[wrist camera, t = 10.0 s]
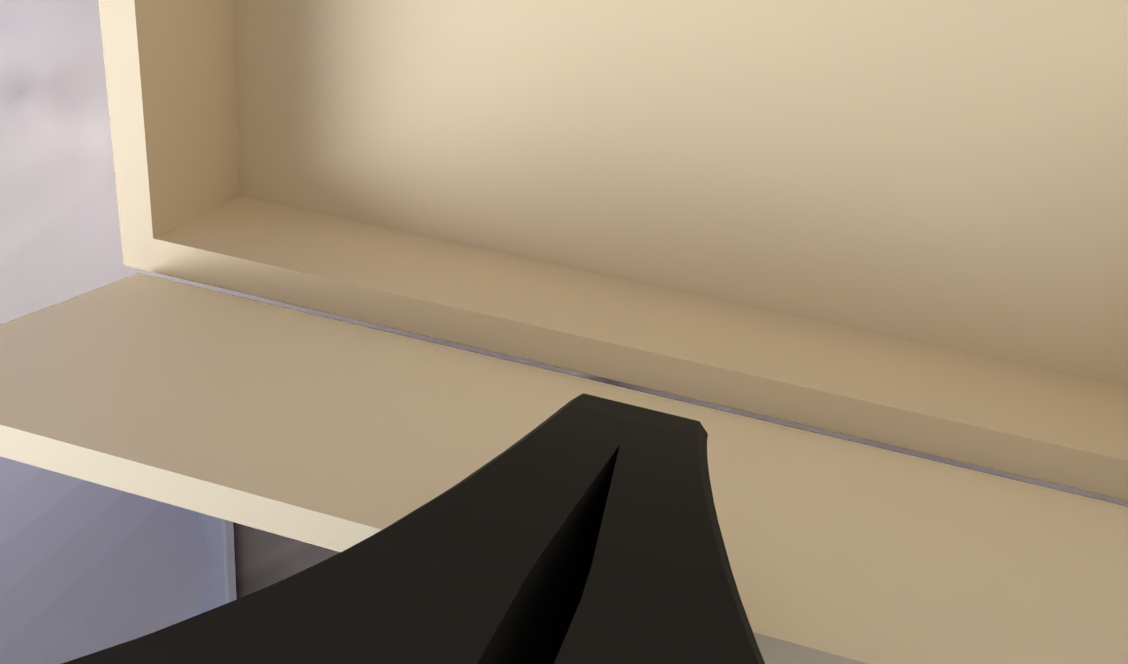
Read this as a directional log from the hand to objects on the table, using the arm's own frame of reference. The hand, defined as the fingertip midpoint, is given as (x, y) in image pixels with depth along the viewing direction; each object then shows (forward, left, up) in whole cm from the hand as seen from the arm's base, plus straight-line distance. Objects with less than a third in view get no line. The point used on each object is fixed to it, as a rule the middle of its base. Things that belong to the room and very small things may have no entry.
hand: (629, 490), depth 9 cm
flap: (-1, 0, -2) cm, 2 cm away
